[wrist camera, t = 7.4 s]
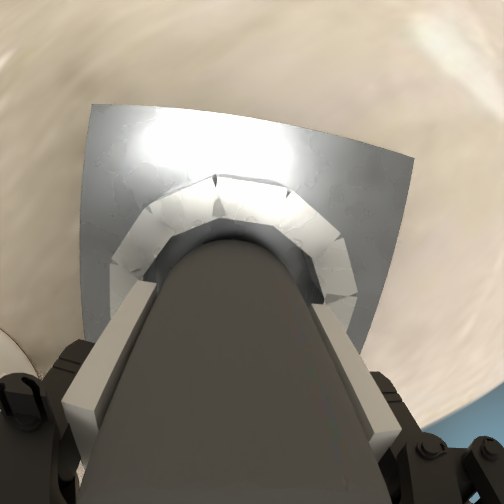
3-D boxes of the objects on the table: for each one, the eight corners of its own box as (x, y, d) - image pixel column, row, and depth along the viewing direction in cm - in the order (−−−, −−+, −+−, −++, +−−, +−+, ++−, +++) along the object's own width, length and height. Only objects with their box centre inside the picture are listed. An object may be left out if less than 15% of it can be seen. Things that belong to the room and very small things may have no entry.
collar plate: (95, 371, 18) (77, 406, 14) (100, 106, 13) (68, 97, 10) (332, 399, 19) (346, 435, 16) (404, 157, 15) (442, 160, 12)
